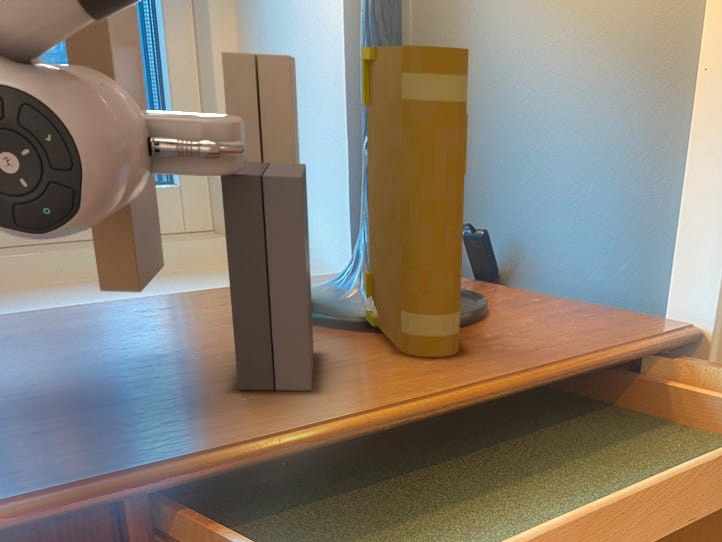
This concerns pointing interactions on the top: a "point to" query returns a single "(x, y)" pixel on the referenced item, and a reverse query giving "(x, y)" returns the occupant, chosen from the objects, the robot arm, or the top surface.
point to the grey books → (269, 275)
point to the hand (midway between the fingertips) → (118, 132)
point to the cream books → (264, 104)
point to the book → (416, 193)
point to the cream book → (140, 217)
